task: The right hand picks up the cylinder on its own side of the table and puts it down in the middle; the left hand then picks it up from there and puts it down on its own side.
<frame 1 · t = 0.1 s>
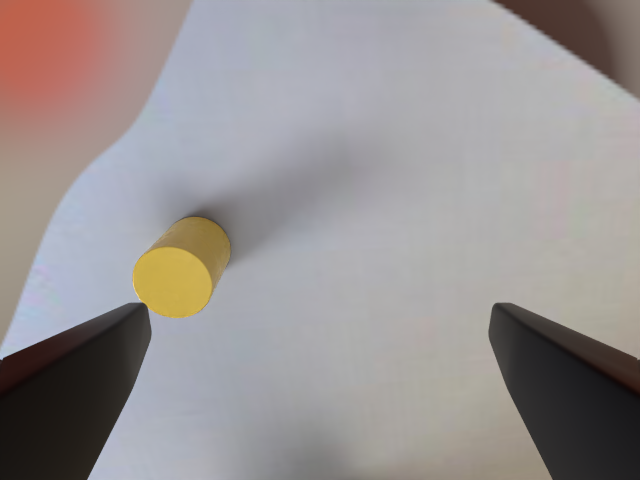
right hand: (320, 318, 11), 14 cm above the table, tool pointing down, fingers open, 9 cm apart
cylinder: (197, 247, 26), on the table
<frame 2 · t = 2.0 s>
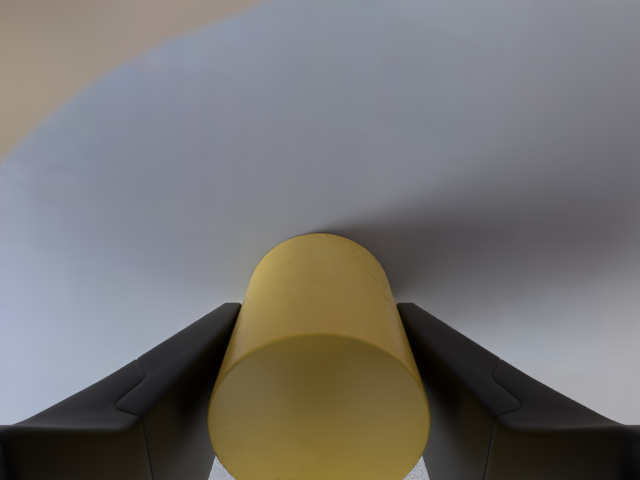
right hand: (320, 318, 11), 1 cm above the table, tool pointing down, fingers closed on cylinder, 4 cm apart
cylinder: (319, 299, 12), on the table, touching right hand
when the right hand's fingers open (2 cm above the table, at t = 7.8 s): cylinder stays where it is, on the table.
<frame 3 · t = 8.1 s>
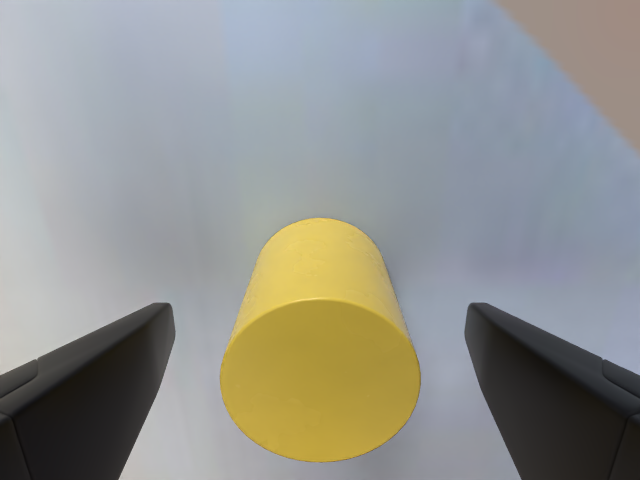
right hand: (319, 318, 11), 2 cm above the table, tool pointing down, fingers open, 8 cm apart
cylinder: (320, 280, 13), on the table
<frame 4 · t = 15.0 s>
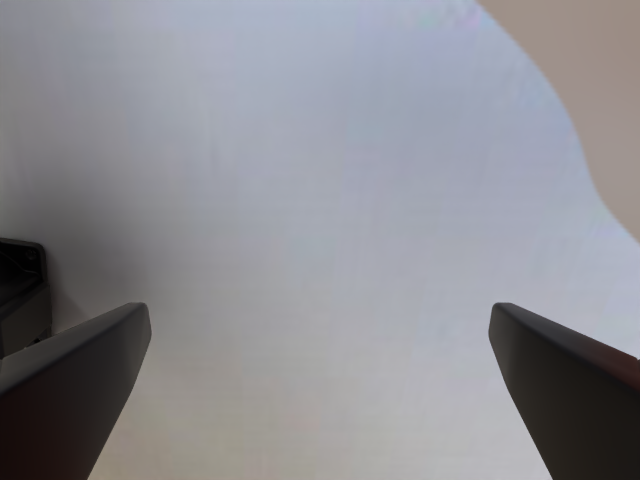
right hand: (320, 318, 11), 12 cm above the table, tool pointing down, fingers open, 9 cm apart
when the left hand's fingers open (1 cm above the table, at t = 25.3 s): cylinder stays where it is, on the table.
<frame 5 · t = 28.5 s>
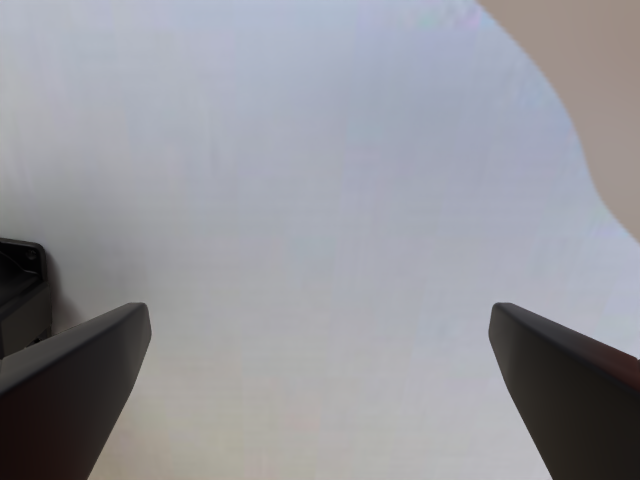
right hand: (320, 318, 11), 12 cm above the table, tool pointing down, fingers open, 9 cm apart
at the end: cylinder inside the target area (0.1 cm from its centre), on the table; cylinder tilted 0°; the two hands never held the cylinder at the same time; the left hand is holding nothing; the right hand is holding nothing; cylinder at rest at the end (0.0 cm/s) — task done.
